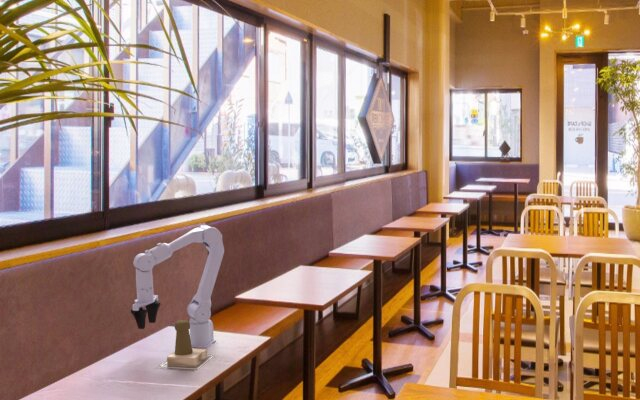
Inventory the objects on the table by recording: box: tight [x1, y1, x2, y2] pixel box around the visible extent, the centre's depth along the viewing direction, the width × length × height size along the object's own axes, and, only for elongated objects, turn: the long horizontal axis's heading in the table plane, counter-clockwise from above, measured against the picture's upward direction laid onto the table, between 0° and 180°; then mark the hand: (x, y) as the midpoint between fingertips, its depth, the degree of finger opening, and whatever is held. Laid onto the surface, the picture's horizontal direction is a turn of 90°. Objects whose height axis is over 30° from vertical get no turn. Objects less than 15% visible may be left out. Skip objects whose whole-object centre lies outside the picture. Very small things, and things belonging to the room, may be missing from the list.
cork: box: [174, 319, 193, 355], centre depth 227 cm, size 6×6×11 cm
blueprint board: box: [155, 354, 215, 372], centre depth 228 cm, size 16×15×1 cm
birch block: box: [166, 347, 208, 367], centre depth 227 cm, size 10×10×3 cm
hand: (147, 325), depth 237 cm, fingers open, 7 cm apart
